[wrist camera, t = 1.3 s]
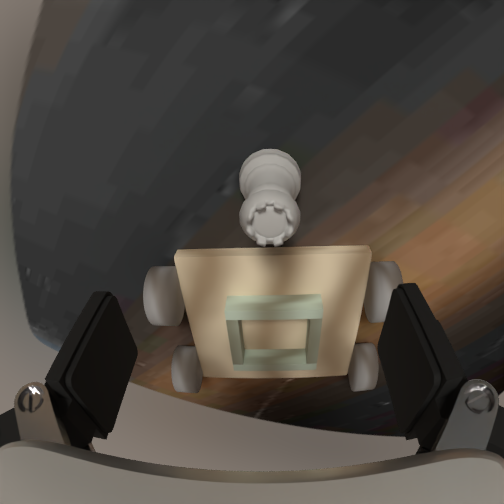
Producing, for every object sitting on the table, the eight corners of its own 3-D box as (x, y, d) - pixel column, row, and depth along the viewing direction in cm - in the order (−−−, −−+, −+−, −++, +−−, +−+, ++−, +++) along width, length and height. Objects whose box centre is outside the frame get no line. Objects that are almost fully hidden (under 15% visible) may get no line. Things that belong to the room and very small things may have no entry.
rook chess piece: (278, 214, 25) (280, 276, 18) (228, 184, 24) (210, 236, 17) (312, 169, 23) (331, 215, 16) (261, 135, 22) (256, 167, 15)
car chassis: (390, 244, 25) (409, 280, 21) (362, 365, 34) (369, 400, 30) (155, 250, 27) (136, 285, 23) (189, 367, 35) (180, 402, 31)
